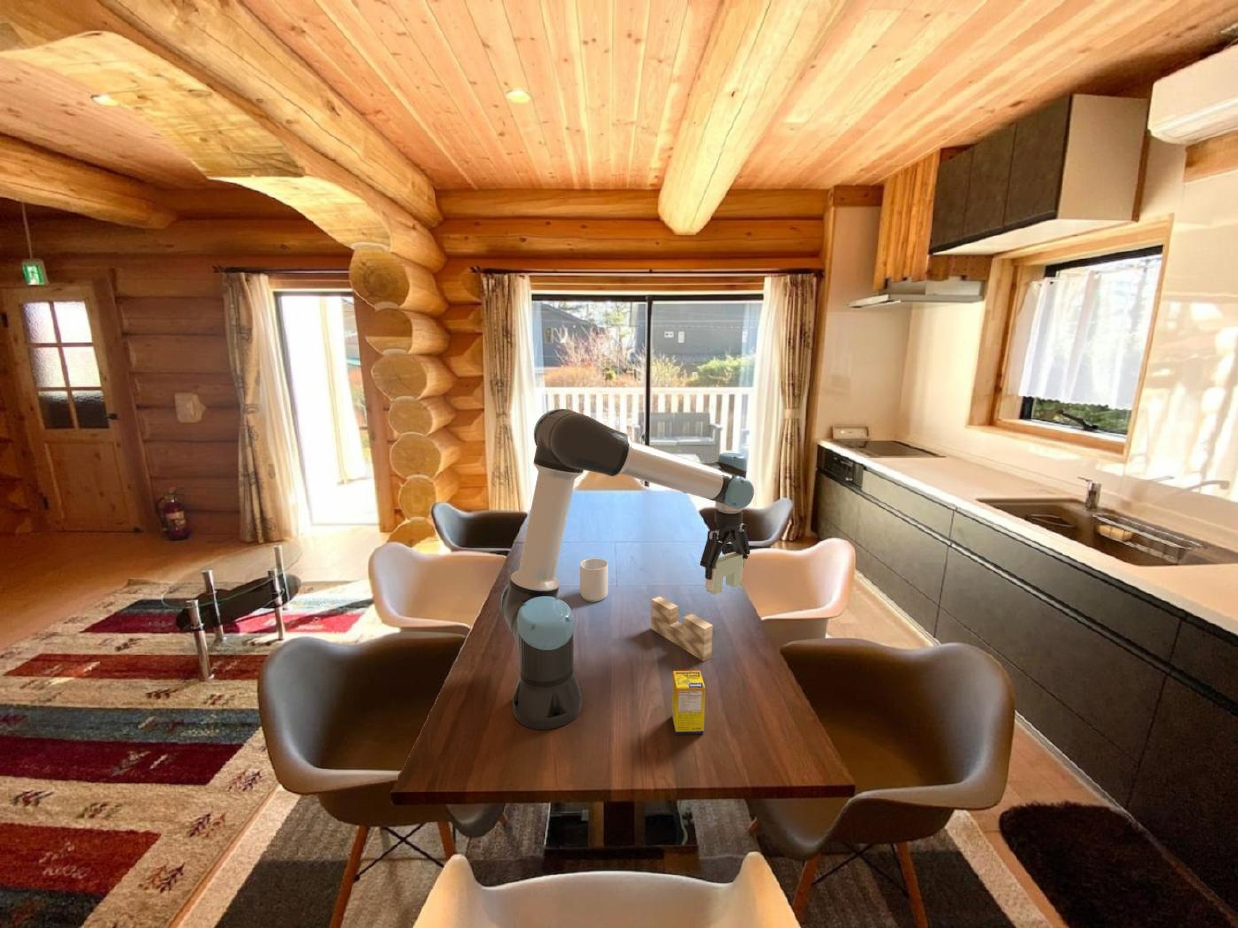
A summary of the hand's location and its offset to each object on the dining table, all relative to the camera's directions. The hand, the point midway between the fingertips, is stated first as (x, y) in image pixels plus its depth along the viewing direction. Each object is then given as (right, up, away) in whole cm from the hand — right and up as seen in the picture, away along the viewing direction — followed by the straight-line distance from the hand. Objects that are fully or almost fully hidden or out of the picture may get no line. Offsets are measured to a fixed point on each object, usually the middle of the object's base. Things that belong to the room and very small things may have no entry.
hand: (724, 584), depth 146 cm
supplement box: (-15, -21, -37) cm, 46 cm away
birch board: (-13, -14, -7) cm, 20 cm away
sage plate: (0, -1, 0) cm, 1 cm away
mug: (-37, -8, +21) cm, 44 cm away
